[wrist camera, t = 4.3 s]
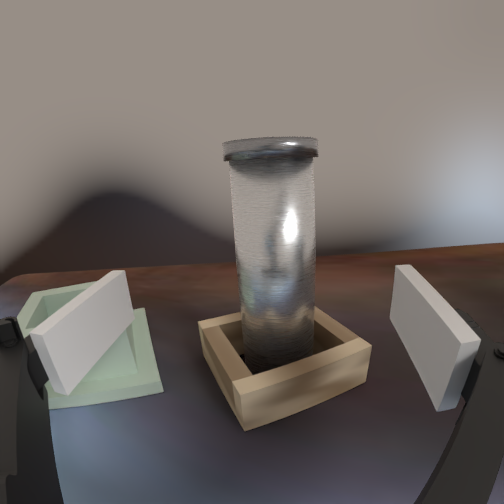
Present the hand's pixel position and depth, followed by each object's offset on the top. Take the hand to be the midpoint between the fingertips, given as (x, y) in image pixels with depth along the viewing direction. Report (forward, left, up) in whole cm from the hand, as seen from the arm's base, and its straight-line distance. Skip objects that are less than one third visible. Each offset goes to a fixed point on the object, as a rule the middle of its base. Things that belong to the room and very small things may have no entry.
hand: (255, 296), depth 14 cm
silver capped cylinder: (-3, -4, -8) cm, 9 cm away
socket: (+11, -11, -8) cm, 17 cm away
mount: (-3, -4, -8) cm, 9 cm away
